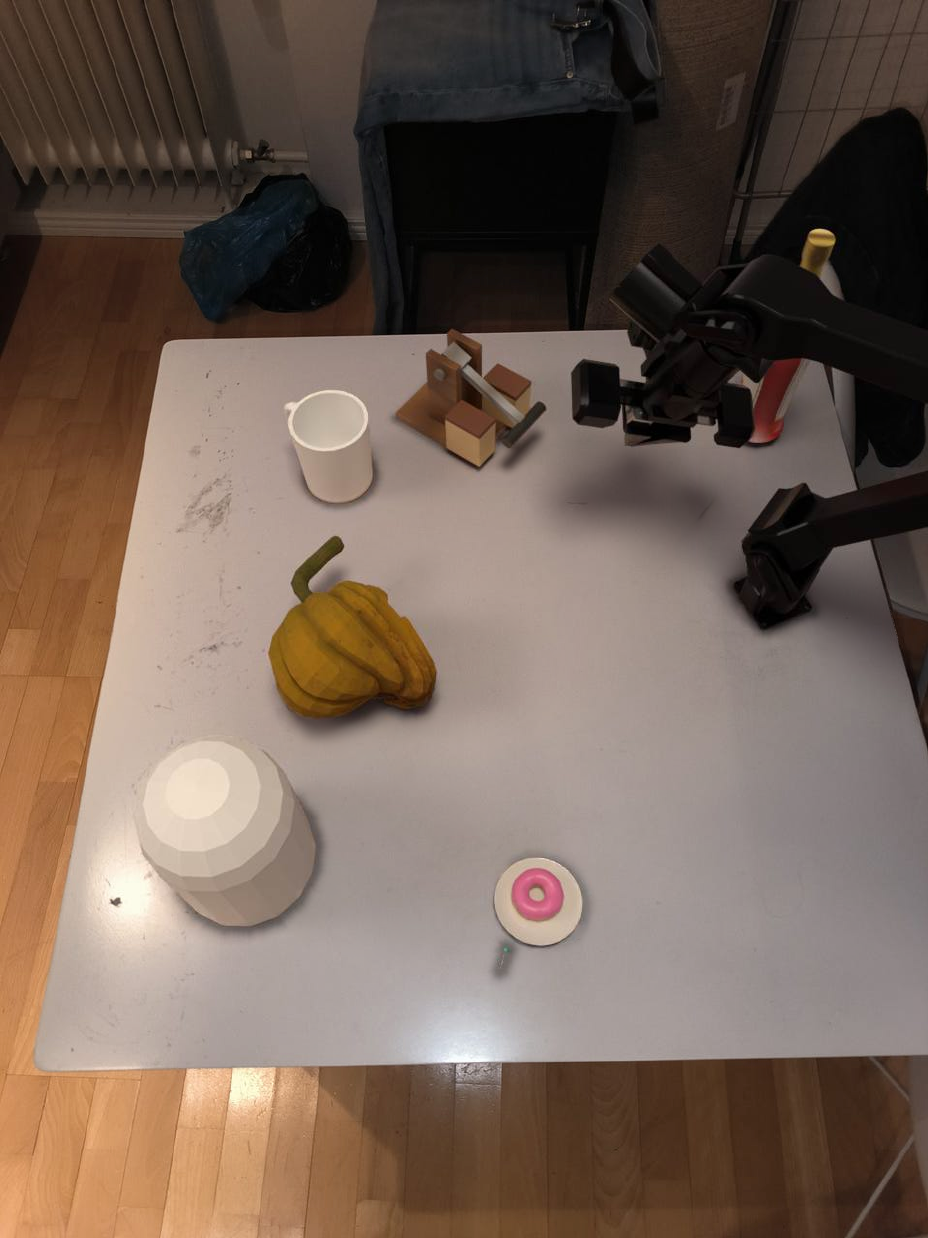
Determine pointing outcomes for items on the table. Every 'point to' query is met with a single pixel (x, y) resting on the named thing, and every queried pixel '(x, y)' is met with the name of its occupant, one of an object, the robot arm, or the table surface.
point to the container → (225, 830)
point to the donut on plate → (538, 901)
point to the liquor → (785, 374)
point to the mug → (332, 444)
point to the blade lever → (496, 397)
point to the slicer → (444, 391)
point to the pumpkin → (346, 648)
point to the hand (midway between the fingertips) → (627, 441)
